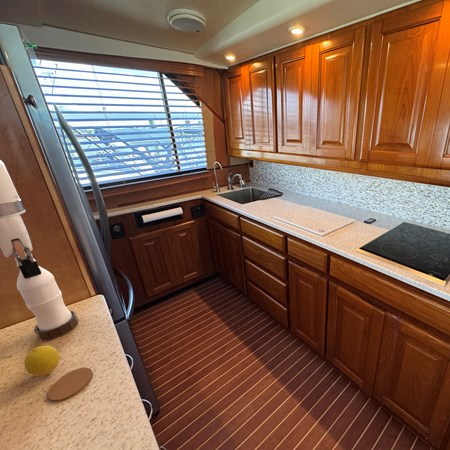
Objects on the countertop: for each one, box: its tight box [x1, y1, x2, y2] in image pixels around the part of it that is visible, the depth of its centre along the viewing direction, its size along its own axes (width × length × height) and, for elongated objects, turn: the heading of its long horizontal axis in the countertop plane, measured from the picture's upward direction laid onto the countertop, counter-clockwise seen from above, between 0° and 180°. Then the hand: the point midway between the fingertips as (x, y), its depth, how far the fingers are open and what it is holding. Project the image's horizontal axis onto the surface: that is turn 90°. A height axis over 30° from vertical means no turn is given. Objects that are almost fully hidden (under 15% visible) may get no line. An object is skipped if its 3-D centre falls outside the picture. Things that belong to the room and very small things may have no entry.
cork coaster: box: [47, 367, 94, 403], centre depth 56 cm, size 8×8×1 cm
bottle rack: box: [33, 310, 80, 341], centre depth 72 cm, size 9×9×3 cm
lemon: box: [24, 345, 60, 377], centre depth 57 cm, size 6×6×8 cm
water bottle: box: [14, 253, 72, 331], centre depth 68 cm, size 7×7×25 cm
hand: (32, 272), depth 65 cm, fingers closed on water bottle, 4 cm apart
